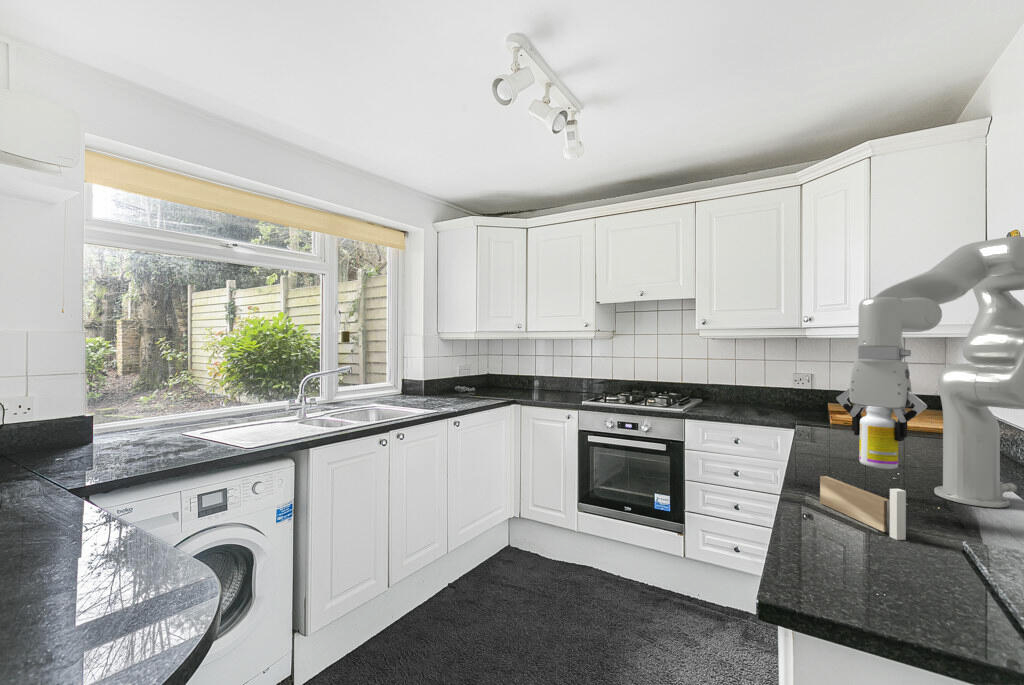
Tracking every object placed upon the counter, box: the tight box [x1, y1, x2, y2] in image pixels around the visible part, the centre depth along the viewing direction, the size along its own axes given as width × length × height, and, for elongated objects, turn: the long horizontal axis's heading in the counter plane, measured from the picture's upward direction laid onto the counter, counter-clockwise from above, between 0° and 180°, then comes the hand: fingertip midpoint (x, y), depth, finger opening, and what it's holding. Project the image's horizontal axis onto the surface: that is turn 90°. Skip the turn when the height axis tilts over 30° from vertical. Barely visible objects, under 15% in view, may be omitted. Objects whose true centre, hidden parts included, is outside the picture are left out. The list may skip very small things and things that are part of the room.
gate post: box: [889, 488, 907, 541], centre depth 88 cm, size 2×2×9 cm
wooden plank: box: [819, 475, 890, 535], centre depth 98 cm, size 2×18×6 cm, turn 5°
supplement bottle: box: [858, 406, 899, 470], centre depth 102 cm, size 7×7×13 cm
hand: (878, 436), depth 102 cm, fingers closed on supplement bottle, 6 cm apart
